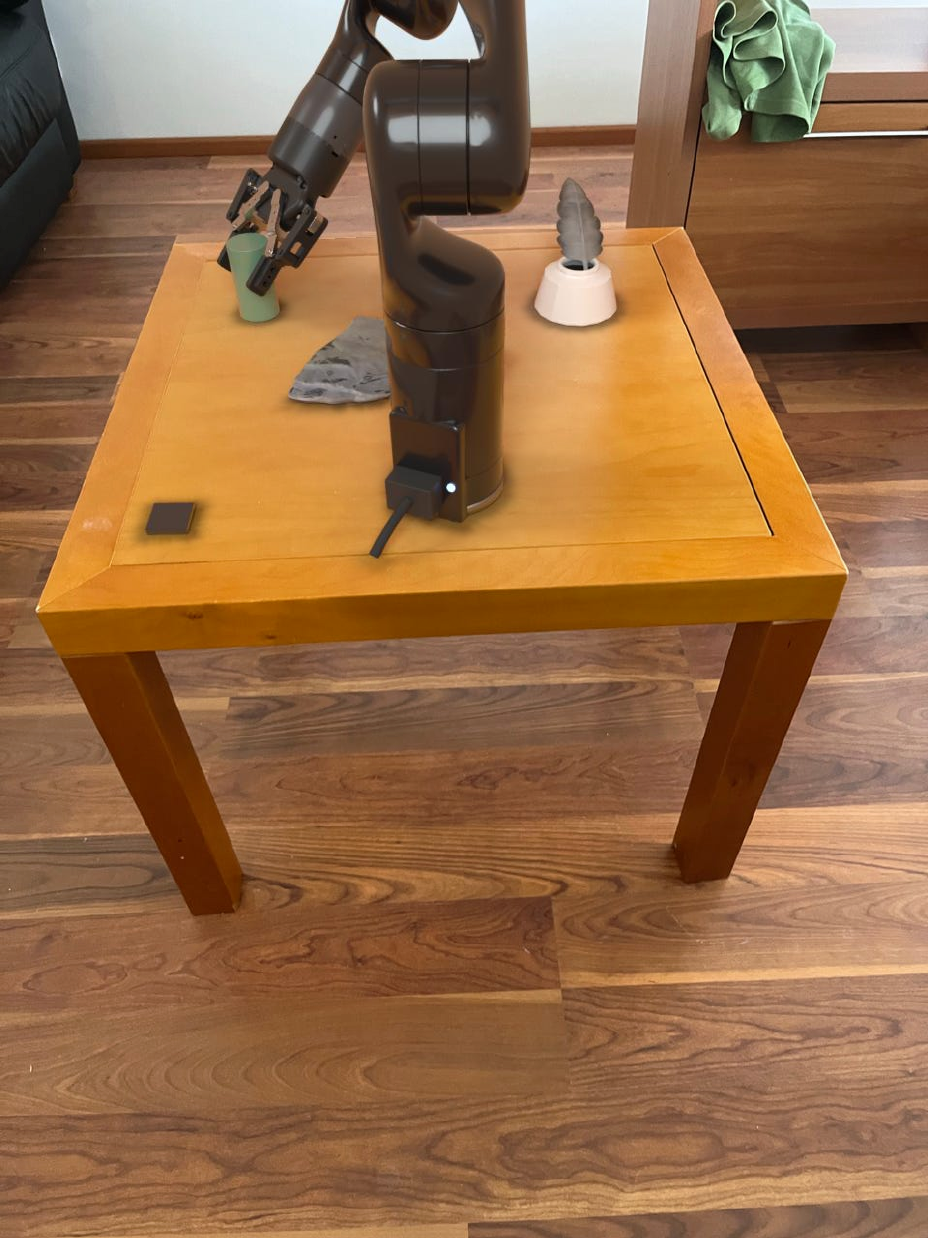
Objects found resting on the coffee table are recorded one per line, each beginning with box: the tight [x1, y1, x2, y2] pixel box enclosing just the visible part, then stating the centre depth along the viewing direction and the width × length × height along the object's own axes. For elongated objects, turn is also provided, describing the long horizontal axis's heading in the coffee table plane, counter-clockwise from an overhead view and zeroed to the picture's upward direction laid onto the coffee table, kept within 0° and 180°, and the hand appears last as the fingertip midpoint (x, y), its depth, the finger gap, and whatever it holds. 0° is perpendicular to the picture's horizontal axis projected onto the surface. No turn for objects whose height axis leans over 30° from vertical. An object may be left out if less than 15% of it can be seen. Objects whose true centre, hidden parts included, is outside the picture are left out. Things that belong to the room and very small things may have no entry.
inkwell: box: [533, 177, 618, 327], centre depth 103 cm, size 9×18×10 cm, turn 5°
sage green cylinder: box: [225, 233, 281, 323], centre depth 101 cm, size 4×4×8 cm
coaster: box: [144, 501, 196, 535], centre depth 79 cm, size 4×4×1 cm
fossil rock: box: [287, 316, 390, 405], centre depth 94 cm, size 18×15×2 cm
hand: (239, 279), depth 100 cm, fingers open, 6 cm apart
